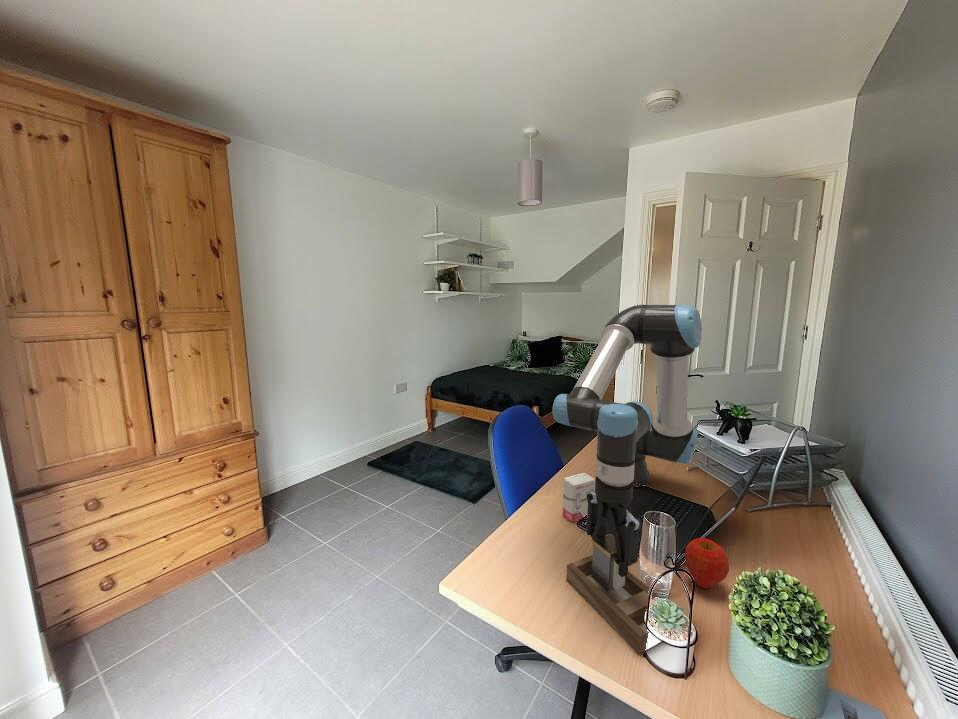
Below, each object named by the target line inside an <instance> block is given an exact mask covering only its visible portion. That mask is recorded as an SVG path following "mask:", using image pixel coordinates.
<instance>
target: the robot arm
mask: <svg viewBox="0 0 958 719" xmlns="http://www.w3.org/2000/svg"><path fill="white" fill-rule="evenodd" d="M702 327H703V326H702V319H701V315H700V312H699V310H698V309H697V307H695V306H693V305H685V304H683V305H682V304H680V303H679V304H637V305H632V306H630V307H628V308H624V309H623V310H622V311H620V312H618V313H617V314H615V315H614V316H613V317H612V318H610V320H609V321H607V323H606V324H605V326H604V327H603V329H602V330H601V333H600V334H601V335H600V338H601V339H600V341H599V343H598V345H597V347H596V348H595V350H594V352H593V353H592V355H591V357H590V359H589V361H588V363H587V364H586V366H585V367H584V369H583V372H582V373H581V375H580V377H579V378H578V380H577V382H576V383H575V385H574V387H573V388H572V390H571V391H570V393H569V394H568V393H560V394H558V395H557V396H556V397H555V398H554V401H553V404H552V408H551V409H552V410H551V411H552V412H551V413H552V416H553V420H554V421H555V422H557V423H559V424H562V425H564V426H569V427H574V428H579V429H584V430H589V431H594V432H596V433H597V435H596V436H597V437H596V462H595V463H596V464H595V465H596V466H595V475H596V476H595V478H594V479H595V492H592V493H589V494H587V501H588V514H587V518H586V534H587V535H588V536H590V537H591V540H592V542H593V540H594V539H597V538H600V537H603V536H605V535H606V533H607V529H608V526H609V523H610V527H611V529H612V530H613V536H614V538H615V545H616V553H617V559H615V560H614V572H613V588H614V589H615V590H616V589H618V588H620V587H622V586H625V576H626V575H627V574H628V571H629V566H632V565H634V564H637V563H638V561H639V560H638V559H639V557H638V556H639V542H640V530H641V527H642V525H643V521H642V519H640V518H638V519H636V518H635V517H634V516H633V515H632V510H631V506H630V504H631V502H632V500H633V493H634V487H633V483H637V484H640V485H646V486H648V485H649V484H650V481H651V480H650V479H651V474H650V472H649V469H648V464H647V461H646V457H652V458H656V459H660V460H665V461H667V462H668V461H669V462H673V463H677V464H678V463H679V464H684V465H687V464H689V463H690V462H691V461H692V458H693V454H694V451H695V448H696V443H697V440H698V436H699V435H698V434H699V431H698V430H697V429H695V428H693V424H692V422H691V421H690V420H689V419H688V394H689V392H688V388H689V384H688V383H689V380H688V379H689V356H691V355H692V354H694V352H695V350H696V348H698V347H700V346H701V342H702V333H703V332H702V329H703V328H702ZM635 344H641V345H650V348H649V349H650V353H651V354H652V355H654V356H655V357H656V358H655V363H656V364H655V366H656V369H655V371H656V372H655V373H656V414H657V415H656V416H655V418H653V417H654V416H653V414H652V411H651V409H650V408H649V407H648V406H647V405H646V404H645V403H643V402H640V401H638V400H637V401H636V400H634V401H629V402H626V403H620V402H614V401H608V400H602V399H603V398H604V396H605V393H606V392H607V389H608V387H609V386H610V384H611V381H612V380H613V377H615V376H614V375H615V374H616V372H617V369H618V368H619V366H620V364H621V362H622V360H623V359H624V356H625V353H626V351H628V350H630V349H632V347H633V346H634V345H635Z"/></svg>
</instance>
